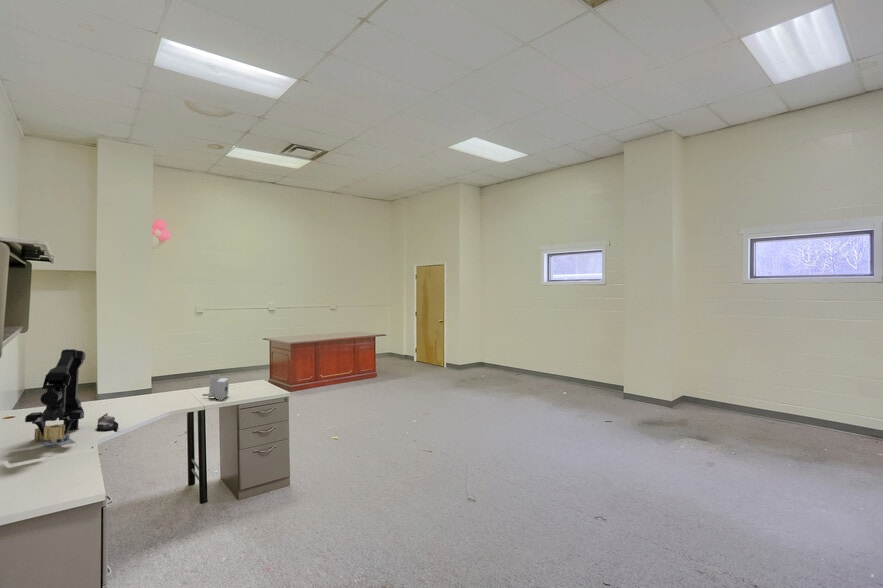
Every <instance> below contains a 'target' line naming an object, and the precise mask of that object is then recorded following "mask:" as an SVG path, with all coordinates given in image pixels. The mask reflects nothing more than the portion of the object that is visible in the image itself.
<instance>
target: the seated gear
mask: <svg viewBox="0 0 883 588" xmlns="http://www.w3.org/2000/svg"><path fill="white" fill-rule="evenodd" d="M47 426H48V425H45V427H47ZM34 441H35V442H38V441H45V439H44V437H43V436H42V434H41V432H40V430H39V428H38V427H37V428H34Z"/></svg>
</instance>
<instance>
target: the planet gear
mask: <svg viewBox="0 0 883 588" xmlns="http://www.w3.org/2000/svg"><path fill="white" fill-rule="evenodd" d="M46 426H47V427H44V439H45V440H55V439H62V437H65V435H64V431H65V425H64V424H63V423H62V424H58V423H56V424H52V425H51V424H49V425H46Z"/></svg>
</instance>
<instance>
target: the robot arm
mask: <svg viewBox="0 0 883 588" xmlns="http://www.w3.org/2000/svg"><path fill="white" fill-rule="evenodd" d="M85 360H86V352H84V351H83V350H78V349H74V348H73V349H72V348H71V349H67V348H66V349H62V351H61V353H60V358H59V360H58V362H57V363H56V365H55V367H53V368H51V369H50V370H49V371H48V373H47V374H46V375H45V377H44V382H43V385H42V389H43V390H45V389H46V392H44V393H43V394H42V395H41V396H40V403H42V404H43V405H45V409H44V410H43V412H42V411H41V412H40V411H39V412H37V411H36V412H31V413H29V414H27V415H26V416H25V419H24V422H25V423H31V424H32V425H33V424H34V425H36V426H37V428H39V430H40V432H41V434H42V436H43V437H44V427H45V426H46V422H50V421H51V422H56V421H57V420H58V421H63V423H62V424H64V425H65V431H64V435H66V434H67V433H69V432H68V431H74V430H78V429H79V420H82V419H85V418H84V417H85V411H84V409H83V406H82V402H81V401H80V399H79V398H78V390H79V388H78V387H79V374H80V371H79V370H80V368H81V366H82V365H83V364H84V362H85Z"/></svg>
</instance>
